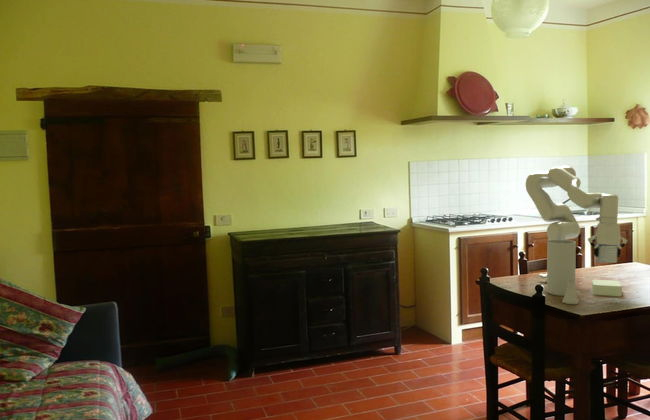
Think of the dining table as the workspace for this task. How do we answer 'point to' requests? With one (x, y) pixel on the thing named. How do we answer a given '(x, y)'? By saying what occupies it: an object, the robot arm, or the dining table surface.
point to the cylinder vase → (560, 265)
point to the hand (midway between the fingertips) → (606, 256)
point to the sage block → (606, 287)
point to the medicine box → (607, 254)
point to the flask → (570, 294)
